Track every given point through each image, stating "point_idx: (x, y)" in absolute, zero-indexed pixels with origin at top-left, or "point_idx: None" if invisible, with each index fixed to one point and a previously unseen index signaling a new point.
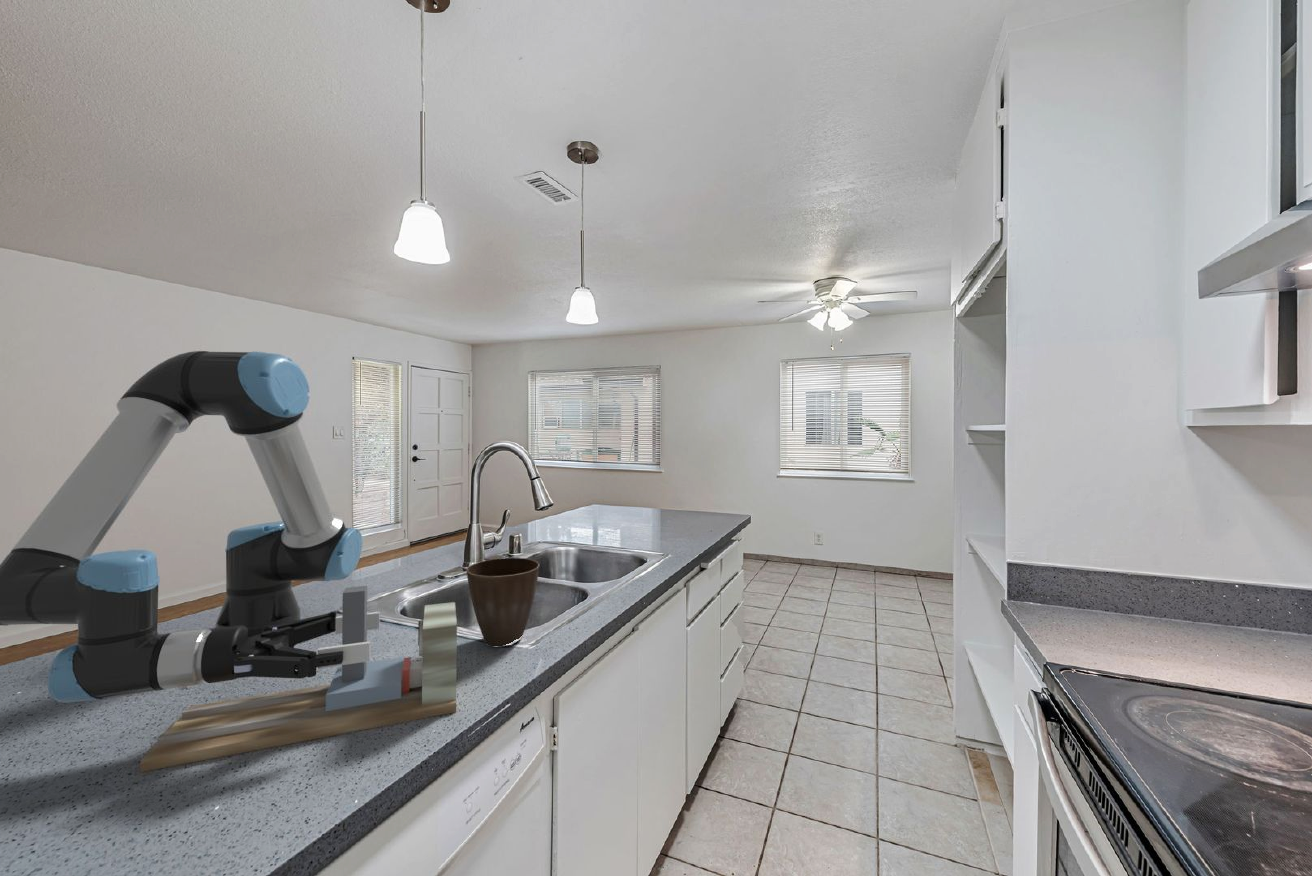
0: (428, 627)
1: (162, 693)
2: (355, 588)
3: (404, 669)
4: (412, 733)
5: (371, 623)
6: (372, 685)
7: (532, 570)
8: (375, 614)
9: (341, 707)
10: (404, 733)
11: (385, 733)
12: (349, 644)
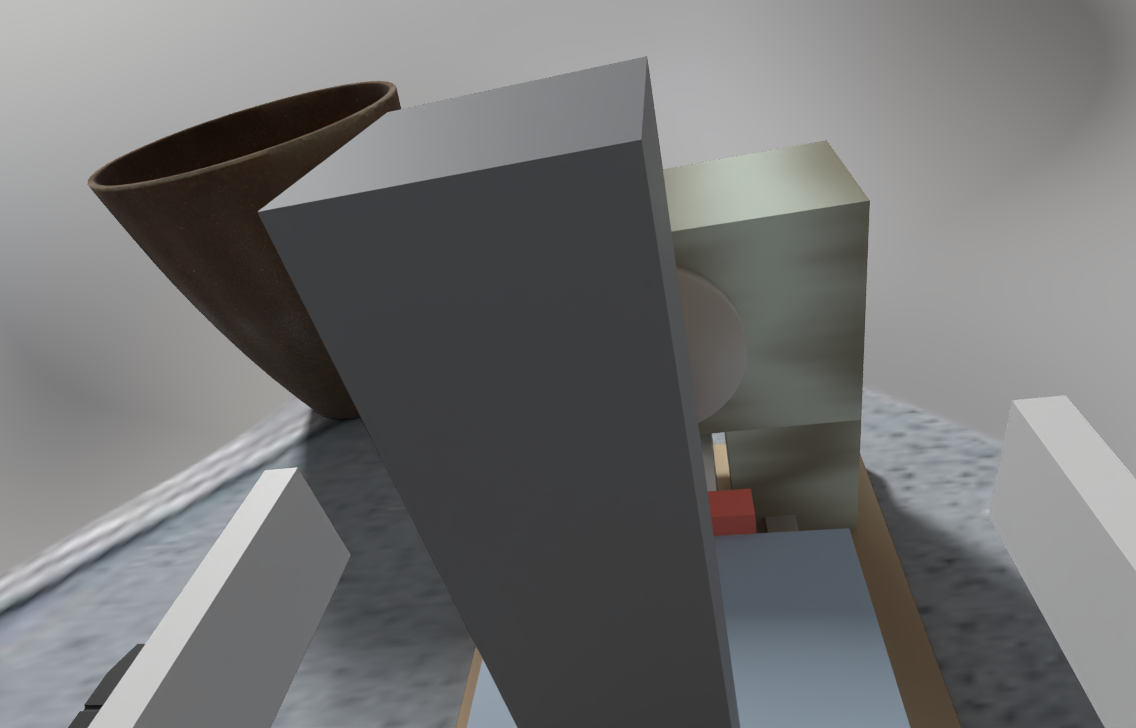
0: (837, 192)
1: None
2: (434, 132)
3: (739, 507)
4: (1014, 580)
5: (309, 567)
6: (858, 664)
7: (383, 81)
8: (286, 494)
9: None
10: (1014, 609)
11: (1014, 689)
12: (1120, 530)
